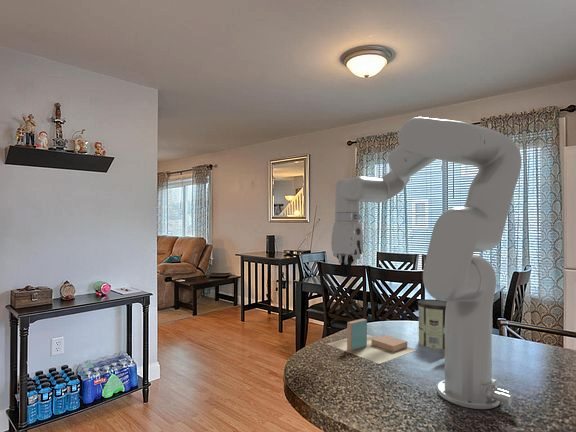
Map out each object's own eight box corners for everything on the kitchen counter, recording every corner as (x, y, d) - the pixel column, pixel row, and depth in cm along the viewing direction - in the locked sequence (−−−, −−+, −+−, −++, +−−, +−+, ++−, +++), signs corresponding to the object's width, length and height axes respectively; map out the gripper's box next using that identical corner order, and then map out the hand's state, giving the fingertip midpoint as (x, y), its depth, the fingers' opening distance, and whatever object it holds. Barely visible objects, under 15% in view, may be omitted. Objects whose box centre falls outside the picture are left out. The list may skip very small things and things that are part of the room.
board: (417, 354, 109) (417, 349, 109) (379, 368, 98) (379, 363, 98) (364, 337, 125) (364, 333, 125) (326, 347, 114) (326, 344, 114)
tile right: (385, 340, 118) (407, 347, 111) (371, 345, 113) (393, 352, 107) (385, 335, 118) (407, 341, 111) (371, 339, 113) (393, 346, 107)
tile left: (367, 346, 112) (367, 319, 112) (351, 351, 108) (351, 323, 108) (362, 344, 113) (362, 318, 114) (347, 349, 109) (347, 322, 109)
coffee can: (445, 342, 120) (445, 299, 121) (459, 353, 110) (459, 306, 110) (413, 341, 121) (413, 298, 121) (424, 352, 110) (424, 305, 111)
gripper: (373, 219, 113) (372, 279, 113) (338, 218, 125) (337, 272, 125) (356, 218, 108) (355, 281, 108) (322, 218, 120) (320, 274, 120)
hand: (345, 276), depth 116 cm, fingers closed
